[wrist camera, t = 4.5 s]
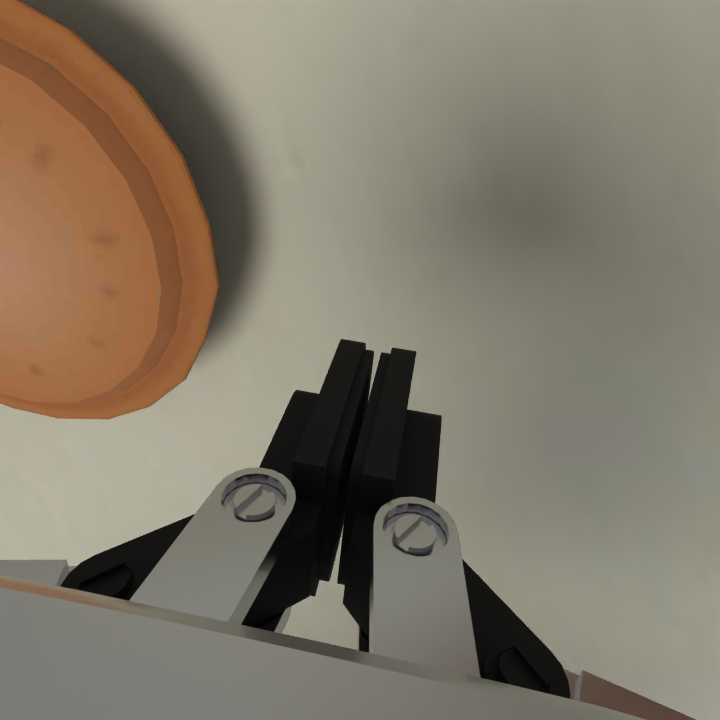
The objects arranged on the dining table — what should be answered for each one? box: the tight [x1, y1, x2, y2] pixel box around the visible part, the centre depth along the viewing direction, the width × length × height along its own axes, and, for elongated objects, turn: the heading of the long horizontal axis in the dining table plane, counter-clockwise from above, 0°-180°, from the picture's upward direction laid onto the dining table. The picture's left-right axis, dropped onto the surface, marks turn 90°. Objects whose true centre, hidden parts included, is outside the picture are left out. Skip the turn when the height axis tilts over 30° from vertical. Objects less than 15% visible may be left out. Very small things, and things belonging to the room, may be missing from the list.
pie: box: [0, 0, 219, 419], centre depth 21 cm, size 15×16×5 cm
